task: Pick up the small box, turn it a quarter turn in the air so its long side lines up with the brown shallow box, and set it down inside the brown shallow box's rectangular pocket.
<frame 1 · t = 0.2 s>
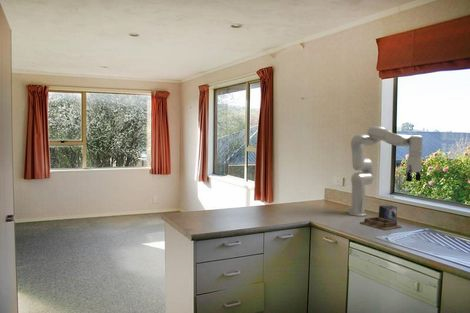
hand: (413, 181, 245), 31 cm above the worktop, tool pointing down, fingers open, 9 cm apart
small box: (387, 221, 266), on the worktop
brown shallow box: (380, 225, 252), on the worktop
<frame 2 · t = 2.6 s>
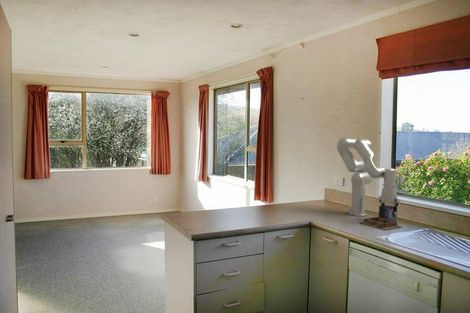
hand: (388, 210, 265), 7 cm above the worktop, tool pointing down, fingers open, 9 cm apart
nothing on the worktop moved.
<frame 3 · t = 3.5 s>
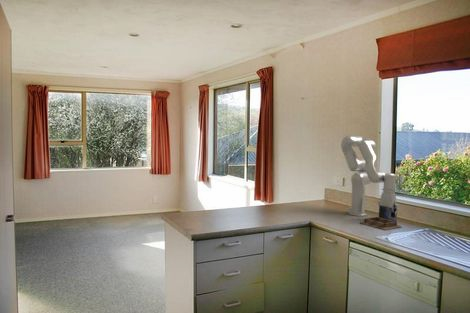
hand: (387, 215, 266), 4 cm above the worktop, tool pointing down, fingers closed on small box, 7 cm apart
small box: (387, 221, 266), on the worktop, touching gripper
when the fingers open (6 cm above the worktop, at t = 10.0 s): small box drops 2 cm, resting on brown shallow box.
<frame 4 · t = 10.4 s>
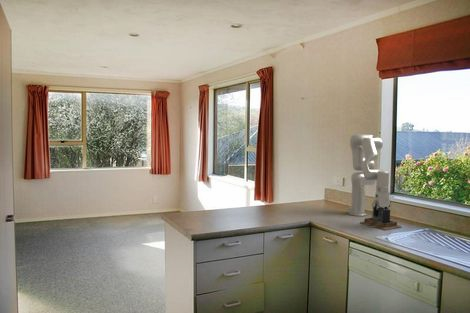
hand: (380, 215, 252), 7 cm above the worktop, tool pointing down, fingers open, 9 cm apart
small box: (380, 224, 252), point 1 cm above the worktop, touching brown shallow box
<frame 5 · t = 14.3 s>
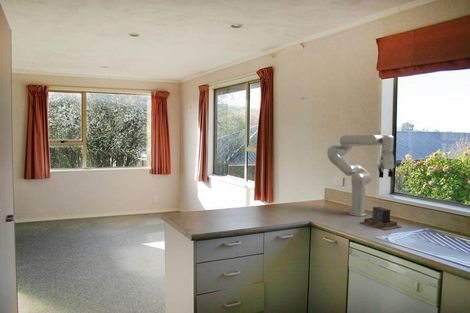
hand: (385, 177, 268), 30 cm above the worktop, tool pointing down, fingers open, 9 cm apart
nothing on the worktop moved.
at the end: small box 0.4 cm off-centre on the brown shallow box, point 0.8 cm above the brown shallow box's base; small box tilted 0°; the gripper is holding nothing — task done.
